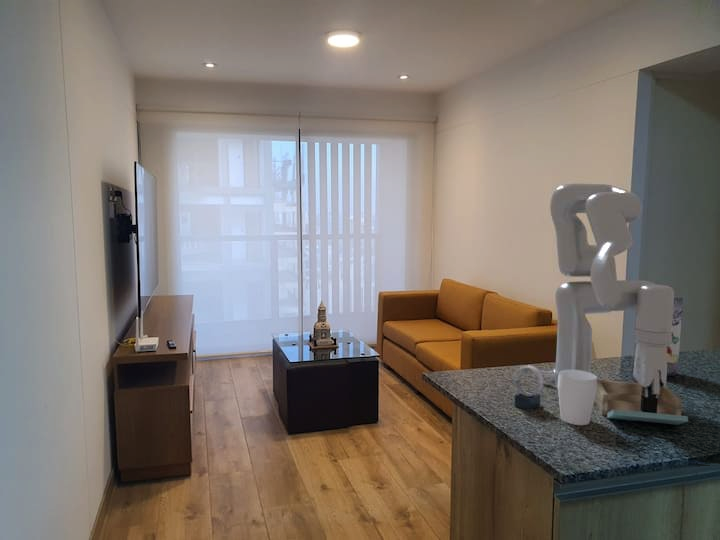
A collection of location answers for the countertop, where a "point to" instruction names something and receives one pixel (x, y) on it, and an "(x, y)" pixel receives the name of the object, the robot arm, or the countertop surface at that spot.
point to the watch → (527, 398)
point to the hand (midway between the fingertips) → (648, 412)
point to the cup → (576, 395)
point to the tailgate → (647, 417)
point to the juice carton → (674, 337)
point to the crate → (632, 398)
